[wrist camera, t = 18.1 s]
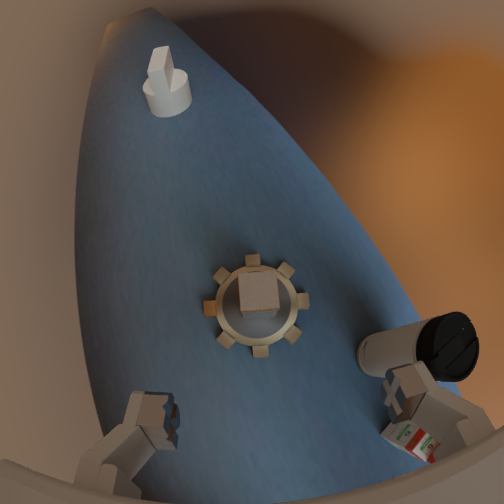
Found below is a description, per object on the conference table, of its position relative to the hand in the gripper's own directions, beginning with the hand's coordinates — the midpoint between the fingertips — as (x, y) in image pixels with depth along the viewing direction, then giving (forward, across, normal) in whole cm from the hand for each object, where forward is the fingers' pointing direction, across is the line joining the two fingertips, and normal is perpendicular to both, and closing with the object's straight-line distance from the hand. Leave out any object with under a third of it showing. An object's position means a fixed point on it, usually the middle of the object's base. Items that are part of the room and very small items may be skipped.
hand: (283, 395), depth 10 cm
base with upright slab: (+57, +14, -15) cm, 60 cm away
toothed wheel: (+27, 0, +15) cm, 31 cm away
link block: (+25, 0, +14) cm, 29 cm away
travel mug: (+20, -16, +21) cm, 34 cm away
